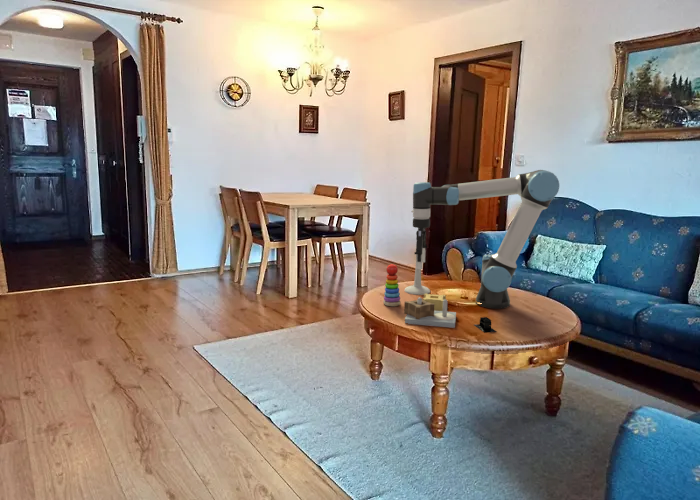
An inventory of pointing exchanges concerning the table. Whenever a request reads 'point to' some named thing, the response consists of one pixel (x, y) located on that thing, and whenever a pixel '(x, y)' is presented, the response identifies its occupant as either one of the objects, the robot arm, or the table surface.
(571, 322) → the table surface
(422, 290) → the candlestick
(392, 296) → the stacking toy
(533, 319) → the table surface
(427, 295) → the ochre cog
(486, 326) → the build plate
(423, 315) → the walnut cog
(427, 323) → the board
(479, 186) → the robot arm
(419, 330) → the table surface
